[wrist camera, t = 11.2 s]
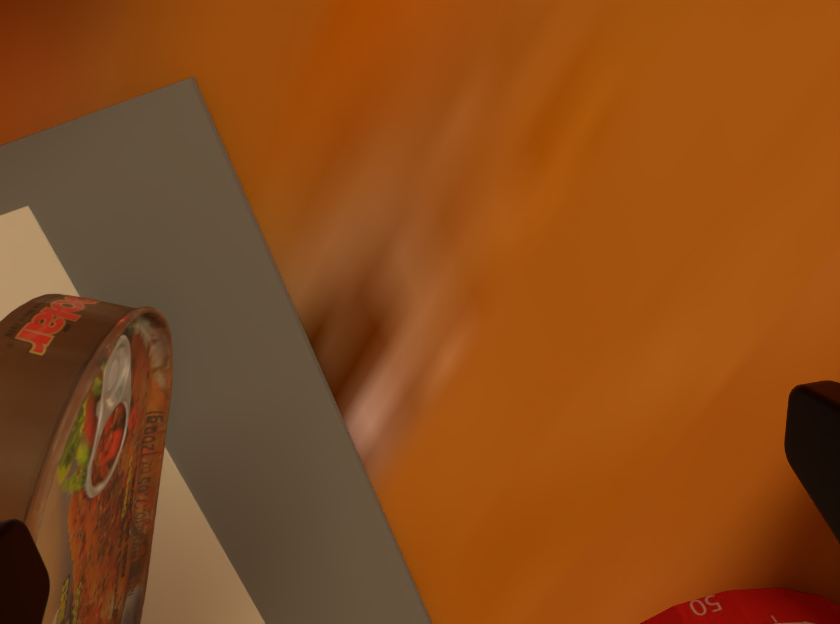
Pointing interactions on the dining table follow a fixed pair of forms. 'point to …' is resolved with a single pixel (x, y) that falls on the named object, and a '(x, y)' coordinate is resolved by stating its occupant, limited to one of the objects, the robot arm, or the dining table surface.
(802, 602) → the kitchen timer
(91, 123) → the mat
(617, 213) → the dining table surface
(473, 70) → the dining table surface
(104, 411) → the tin
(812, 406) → the robot arm
